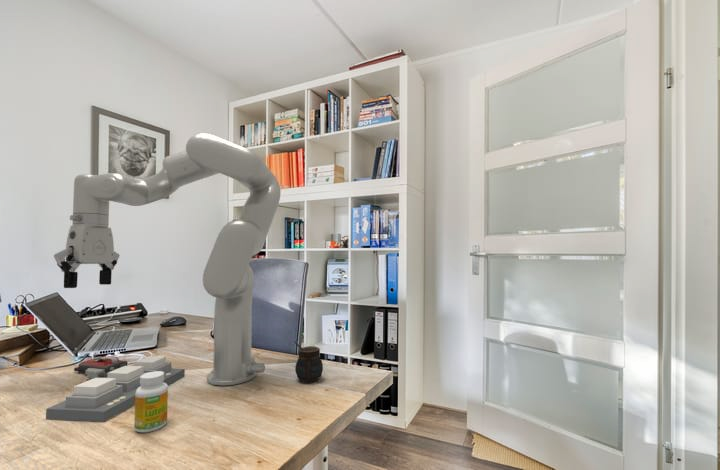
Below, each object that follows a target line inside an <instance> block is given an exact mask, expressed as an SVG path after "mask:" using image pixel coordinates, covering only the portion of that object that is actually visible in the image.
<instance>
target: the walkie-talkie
mask: <svg viewBox="0 0 720 470" xmlns="http://www.w3.org/2000/svg"><path fill="white" fill-rule="evenodd" d="M123 366H128V361H127V360H121V359H119V357H118V356H113V355H107V356H101V355H100V356H97V357H93V358H92V359H88V360H85V361H81V362H79V364H78V366H75V367H74V368H73V371H74V372H78V373H77V374H82V375H86V378H87V379H94V378H107V373H109V372H111V371H113V370H116V369H118V368H121V367H123Z"/></svg>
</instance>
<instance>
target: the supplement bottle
mask: <svg viewBox="0 0 720 470" xmlns="http://www.w3.org/2000/svg"><path fill="white" fill-rule="evenodd" d="M163 381H164V372H162V371H154V372H148V373H145V374H143V375H141V376H140V385H141V386H140V387H139V388H138V389H137V390H136V393H135V405H134V425H133V426H134V427H133V428H134V430H135V432H137V433H149V432H153V431H157V430H160V429H161V428H163V427H164V426H165V425H167V423H168V403H169V402H168V399H169V398H168V397H169V395H168V394H169V385H167V384H166V383H164V382H163Z"/></svg>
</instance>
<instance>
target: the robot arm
mask: <svg viewBox="0 0 720 470" xmlns="http://www.w3.org/2000/svg"><path fill="white" fill-rule="evenodd" d="M218 174H222V175H223V176H226V177H228V178H231V179H234V180H236V181H237V182H238V183H239V184H241V185H243V186H244V187H245V188H247V189H248V190H249V196H248V197H247V199H246V201H245V203H244V205H243V206H242V207H243V208H242V211H241V213H240V216H239V218H237V219H234V220H231V221H229V222H227V223H226V224H225V225H224V226H223V227H222V228H221V229H220V232H219V233H218V235H217V237H216V239H215V241H214V244H213V248H212V250H211V252H210V254H209V257H208V260H207V262H206V263H205V265H206V266H205V267H204V271H203V275H202V285H203V287H204V290H205V291H206V292H207V293H208V295H210V296H212V297H213V298H215V300H214V301H215V302H214V311H213V313H214V318H213V319H214V320H213V367H212V368H213V369H212V370H213V371H210V372H209V373H208V374H207V375H206V381H207V383H208V384H210V385H213V386H233V385H238V384H242V383H246V382H249V381H251V380H253V379H255V378H256V376H257V375H258V373H260V374H261V373H262V374H264V372H265V370H266V366H265V362H256V357H255V356H252V327H253V326H252V323H253V322H252V317H253V296H254V295H253V294H254V286H255V285H254V284H255V283H254V282H255V276H254V271H253V269H252V267H251V266H250V262H251V260H252V258H253V256H256V255H258V254H259V253H260V252H261V251H262V250H263V247H264V246H265V244H266V241H267V237H268V234H269V232H270V229H271V227H272V223H273V220H274V217H275V214H276V212H277V209H278V207H279V203H280V201H281V187H280V186H281V185H280V183H279V181H278V178H277V177H276V176H275V174H274V173H273V172H272V170H271V169H270V168H269V167H268V165H267V164H266V163H265V162H264V161H263V160H262V158H261V156H259V154H257V153H256V152H254V151H253V150H251V149H249V148H247V147H244V146H241V145H239V144H236V143H234V142H231V141H230V140H226V139H224V138H222V137H220V136H217V135H214V134H212V133H207V132H201V133H196V134H194V135H193V136H191V137H190V138H189V139H188V140H187V142H186V145H185V150H183V151H179V152H177V153H174V154H170V155H168V156H165V157H164V158H163V159H162V169H161V170H160V171H159V172H157V173H156V174H153V175H151V176H147V177H145V178H142V179H135V178H132V177H131V176H127V175H124V174H122V173H118V172H109V173H108V172H107V173H103V174H87V173H86V174H85V173H84V174H77V175H76V176H75V178H74V180H73V181H74V182H73V204H72V207H73V208H72V215H70V216H69V220H70V221H72V225H70V227H69V230H68V234H67V239H66V244H65V249H63V250H60V251H59V252H56V253H55V254H54V255H53V258H54V260H55V262H56V265H57V266H58V267H59V268H60V269H61V270H60V271H61V273H63V288H64V289H76V288H77V287H78V271H76V270H77V269H78V268H79V267H80V266H81V265H93V264H95V265H98V266H99V267H100V268H101V270H99V279H98V281H99V285H102V286H103V285H104V286H105V285H106V286H107V285H111V284H112V275H113V274H112V272H113V270H114V269H115V267H116V265H117V264H118V260H119V258H120V254H119V253H118V252H116V251H115V247H114V236H113V232H112V228H111V227H109V225H110V224H109V223H110V222H109V221H110V218H109V217H110V216H109V215H110V202H114V203H119V204H122V205H127V206H130V207H131V206H132V207H140V206H145V205H148V204H149V205H150V204H151V203H155V202H157V201H161V200H163V199H165V198H167V197H169V196H170V195H172V194H173V193H175V192H176V191H178V190H179V188H181V187H183V186H185V185H189V184H191V183H194V182H198V181H200V180H203V179H206V178H209V177H212V176H215V175H218Z"/></svg>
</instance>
